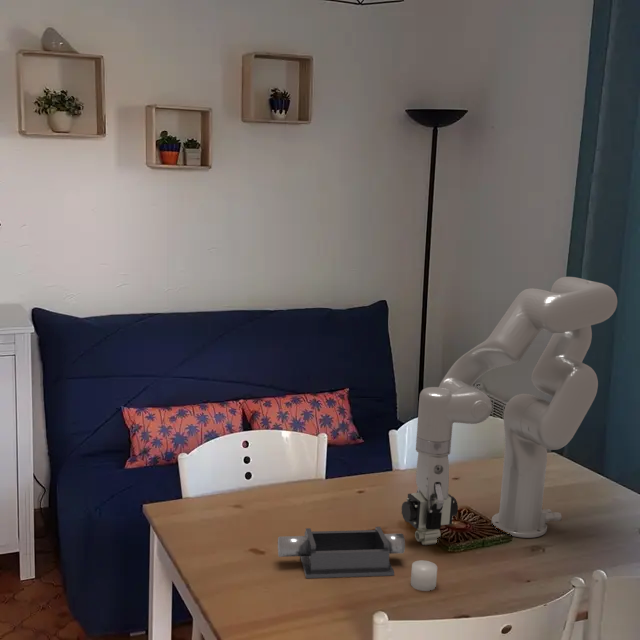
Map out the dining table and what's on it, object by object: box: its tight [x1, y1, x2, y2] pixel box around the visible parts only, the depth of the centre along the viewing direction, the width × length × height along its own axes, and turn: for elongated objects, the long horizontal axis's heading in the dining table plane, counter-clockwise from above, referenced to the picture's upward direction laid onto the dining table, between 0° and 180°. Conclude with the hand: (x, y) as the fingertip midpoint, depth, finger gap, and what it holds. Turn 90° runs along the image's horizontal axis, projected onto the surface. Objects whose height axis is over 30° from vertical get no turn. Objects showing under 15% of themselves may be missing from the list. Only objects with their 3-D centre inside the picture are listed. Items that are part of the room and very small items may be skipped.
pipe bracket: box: [277, 526, 406, 579], centre depth 174 cm, size 26×12×6 cm, turn 99°
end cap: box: [410, 559, 438, 592], centre depth 166 cm, size 5×5×4 cm
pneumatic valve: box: [401, 491, 459, 546], centre depth 185 cm, size 6×12×12 cm, turn 112°
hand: (427, 520), depth 185 cm, fingers open, 7 cm apart
